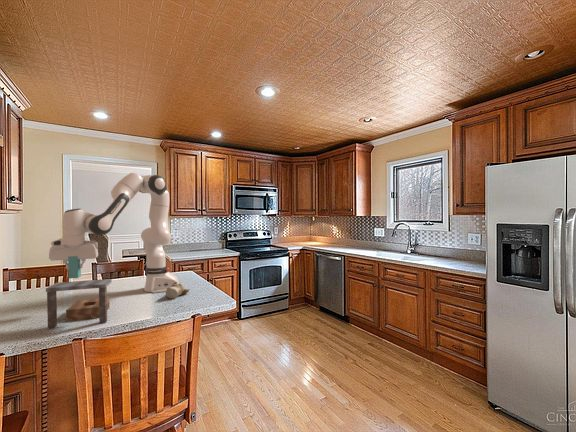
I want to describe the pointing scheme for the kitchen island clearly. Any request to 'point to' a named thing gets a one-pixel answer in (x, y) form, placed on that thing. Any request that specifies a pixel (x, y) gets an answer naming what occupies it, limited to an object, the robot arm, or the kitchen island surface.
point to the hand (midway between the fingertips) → (74, 268)
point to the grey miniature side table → (79, 308)
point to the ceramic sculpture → (175, 290)
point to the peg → (74, 267)
